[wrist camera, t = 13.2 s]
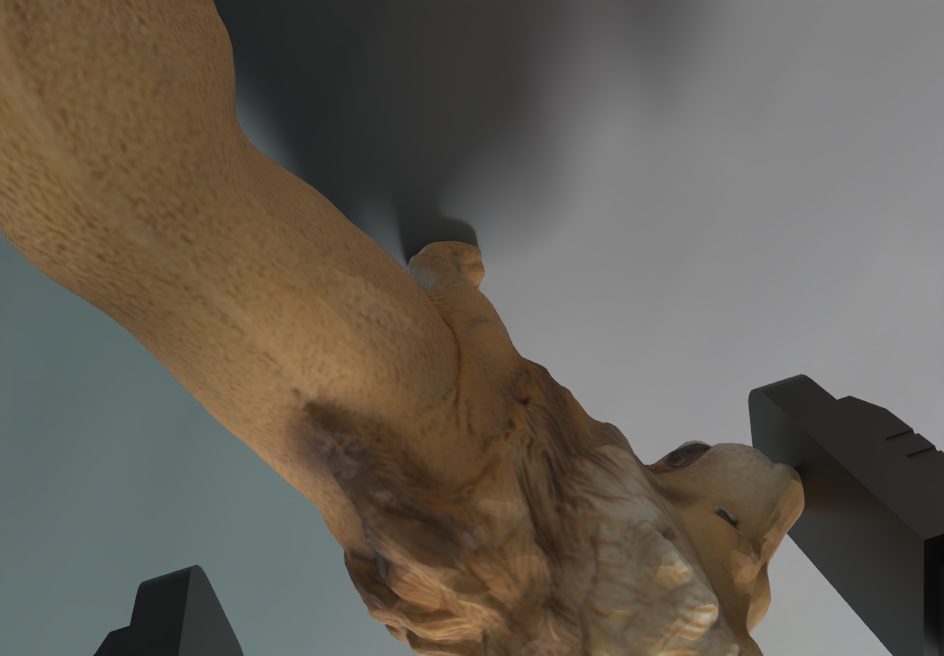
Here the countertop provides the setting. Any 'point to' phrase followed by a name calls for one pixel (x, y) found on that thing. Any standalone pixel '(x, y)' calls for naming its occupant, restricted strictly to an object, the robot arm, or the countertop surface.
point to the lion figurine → (364, 363)
